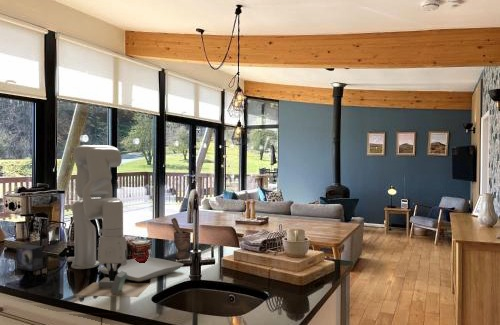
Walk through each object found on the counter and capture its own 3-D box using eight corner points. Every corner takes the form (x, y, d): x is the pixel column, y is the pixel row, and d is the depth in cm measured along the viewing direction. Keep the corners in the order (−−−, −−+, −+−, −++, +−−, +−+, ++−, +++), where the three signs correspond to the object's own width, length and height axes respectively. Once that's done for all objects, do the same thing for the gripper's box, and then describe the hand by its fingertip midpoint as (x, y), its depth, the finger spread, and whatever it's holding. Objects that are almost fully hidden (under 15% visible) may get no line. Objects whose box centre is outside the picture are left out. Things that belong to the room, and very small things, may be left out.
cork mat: (75, 296, 156) (75, 295, 156) (93, 283, 172) (93, 282, 172) (137, 298, 154) (137, 296, 154) (150, 284, 170) (150, 283, 170)
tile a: (98, 281, 164) (115, 282, 164) (104, 277, 170) (121, 277, 170) (98, 288, 164) (115, 288, 164) (104, 283, 170) (121, 283, 170)
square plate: (185, 271, 190) (185, 262, 190) (138, 286, 167) (137, 277, 167) (144, 262, 205) (144, 254, 205) (96, 275, 183) (96, 267, 182)
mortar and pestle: (165, 258, 214) (165, 219, 214) (173, 254, 222) (173, 217, 222) (186, 259, 211) (186, 220, 210) (193, 255, 219) (193, 218, 219)
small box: (15, 269, 194) (15, 246, 193) (27, 265, 200) (27, 244, 200) (32, 271, 190) (31, 248, 190) (43, 268, 196) (43, 245, 196)
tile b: (110, 293, 156) (115, 275, 156) (116, 287, 162) (121, 271, 162) (116, 295, 156) (121, 277, 156) (122, 289, 162) (127, 273, 162)
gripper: (89, 234, 156) (89, 282, 156) (128, 234, 155) (128, 283, 155) (98, 230, 163) (98, 277, 164) (135, 231, 162) (135, 277, 162)
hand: (113, 280), depth 159 cm, fingers closed
